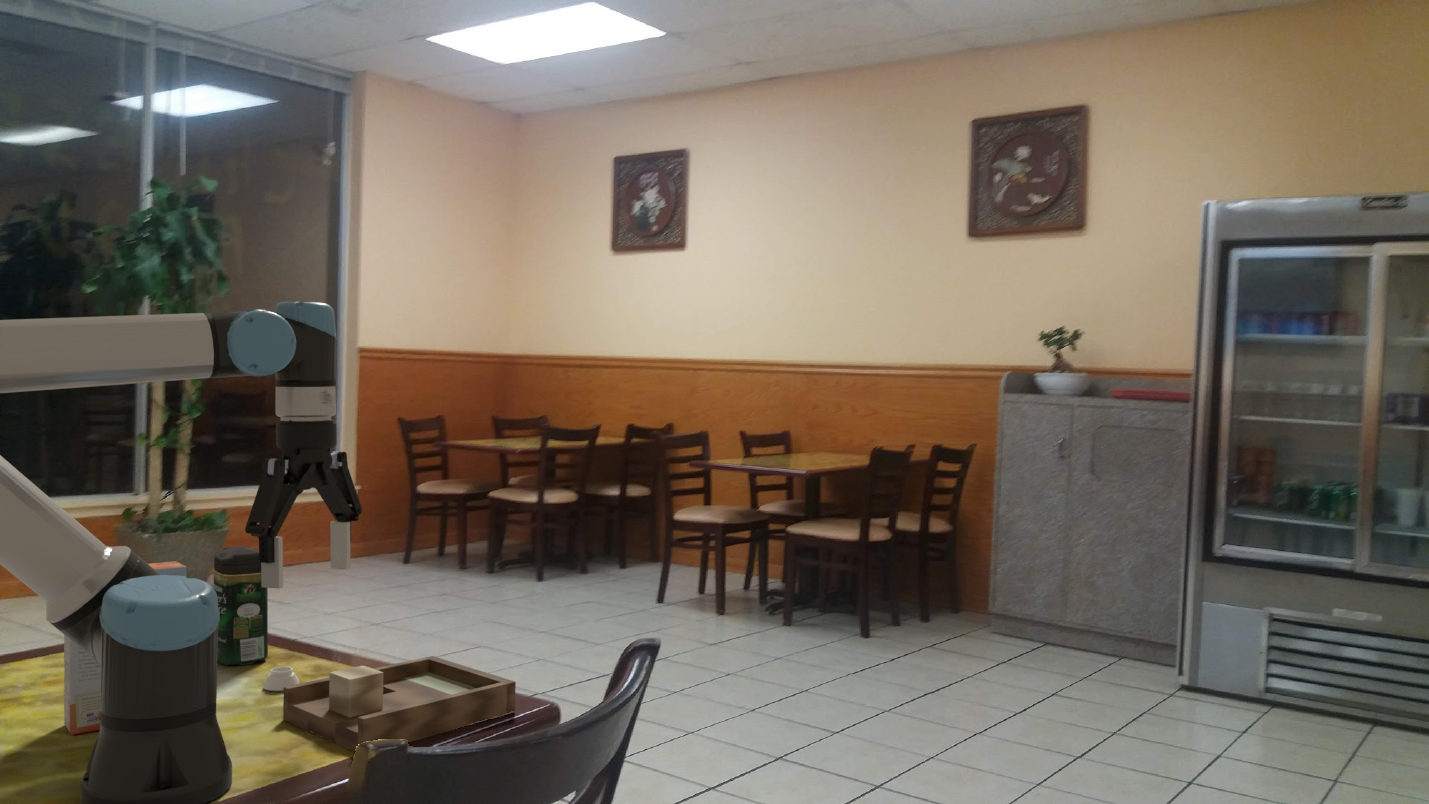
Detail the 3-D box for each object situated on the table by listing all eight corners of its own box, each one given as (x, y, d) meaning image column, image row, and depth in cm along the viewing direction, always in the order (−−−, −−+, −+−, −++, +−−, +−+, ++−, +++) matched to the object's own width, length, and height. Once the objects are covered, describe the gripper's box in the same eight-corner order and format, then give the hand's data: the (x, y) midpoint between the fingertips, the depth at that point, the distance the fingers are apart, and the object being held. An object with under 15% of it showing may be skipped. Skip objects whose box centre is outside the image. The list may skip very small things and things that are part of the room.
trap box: (362, 755, 134) (363, 719, 134) (283, 719, 147) (283, 687, 147) (514, 713, 153) (515, 681, 153) (432, 685, 166) (432, 656, 166)
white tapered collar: (289, 694, 160) (305, 685, 165) (289, 674, 160) (305, 665, 165) (257, 692, 160) (273, 683, 165) (257, 672, 160) (274, 664, 165)
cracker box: (176, 706, 152) (178, 559, 152) (186, 717, 147) (189, 565, 147) (61, 724, 143) (63, 568, 143) (68, 736, 139) (70, 575, 138)
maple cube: (349, 717, 141) (349, 679, 141) (329, 709, 144) (329, 672, 144) (382, 709, 145) (383, 672, 145) (362, 701, 148) (363, 665, 148)
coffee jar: (207, 656, 179) (208, 545, 179) (257, 650, 184) (258, 542, 184) (221, 669, 172) (222, 553, 171) (273, 662, 176) (274, 549, 176)
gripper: (263, 423, 130) (265, 598, 131) (386, 415, 154) (387, 563, 154) (213, 422, 132) (215, 594, 133) (342, 414, 156) (343, 560, 157)
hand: (308, 577), depth 144 cm, fingers open, 13 cm apart
